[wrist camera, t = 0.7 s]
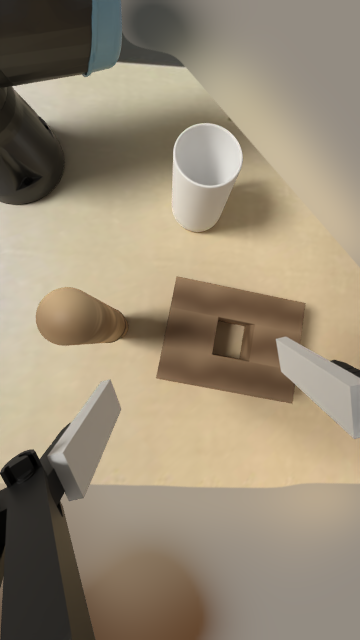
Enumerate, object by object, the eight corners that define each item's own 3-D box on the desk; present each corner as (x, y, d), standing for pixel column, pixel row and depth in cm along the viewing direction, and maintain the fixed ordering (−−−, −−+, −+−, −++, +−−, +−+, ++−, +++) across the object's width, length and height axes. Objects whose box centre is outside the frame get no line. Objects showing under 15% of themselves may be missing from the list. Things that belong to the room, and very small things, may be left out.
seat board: (175, 283, 33) (176, 276, 29) (289, 307, 34) (305, 303, 30) (157, 373, 32) (156, 378, 28) (277, 395, 33) (292, 403, 29)
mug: (243, 201, 36) (275, 142, 25) (195, 243, 34) (207, 201, 24) (210, 167, 36) (228, 94, 25) (161, 208, 35) (158, 150, 24)
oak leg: (104, 309, 32) (44, 281, 16) (134, 315, 33) (103, 293, 17) (97, 339, 32) (28, 339, 16) (128, 344, 32) (89, 351, 16)
